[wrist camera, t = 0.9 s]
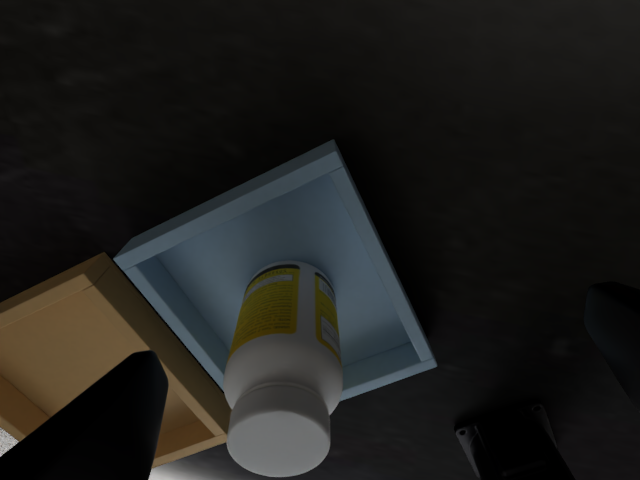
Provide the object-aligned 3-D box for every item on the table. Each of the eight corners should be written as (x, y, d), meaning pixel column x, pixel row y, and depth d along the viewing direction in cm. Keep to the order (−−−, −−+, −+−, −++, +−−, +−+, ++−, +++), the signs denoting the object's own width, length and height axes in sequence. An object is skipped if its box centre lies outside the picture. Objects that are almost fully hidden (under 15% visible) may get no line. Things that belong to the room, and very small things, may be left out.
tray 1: (237, 410, 29) (231, 440, 26) (99, 461, 31) (83, 493, 29) (104, 251, 23) (83, 273, 20) (-55, 329, 25) (-90, 357, 23)
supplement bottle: (232, 313, 24) (187, 467, 16) (266, 243, 22) (236, 374, 13) (311, 343, 25) (311, 501, 17) (351, 278, 23) (375, 421, 14)
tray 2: (427, 339, 26) (438, 366, 24) (260, 401, 28) (256, 431, 26) (333, 138, 20) (336, 150, 18) (131, 238, 22) (112, 258, 20)
